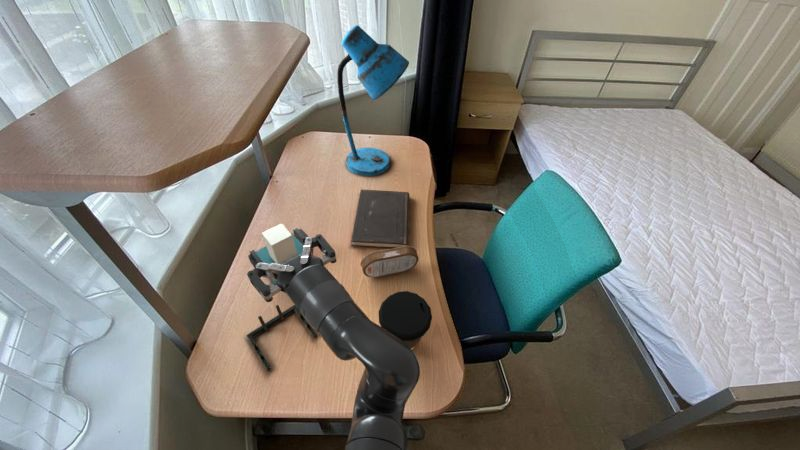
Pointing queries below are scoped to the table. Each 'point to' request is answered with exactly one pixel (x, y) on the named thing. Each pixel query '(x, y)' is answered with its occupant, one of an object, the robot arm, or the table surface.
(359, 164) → the desk lamp
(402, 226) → the hardcover book
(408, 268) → the tin
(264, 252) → the mat
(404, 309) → the coffee cup
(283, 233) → the container
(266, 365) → the rack
